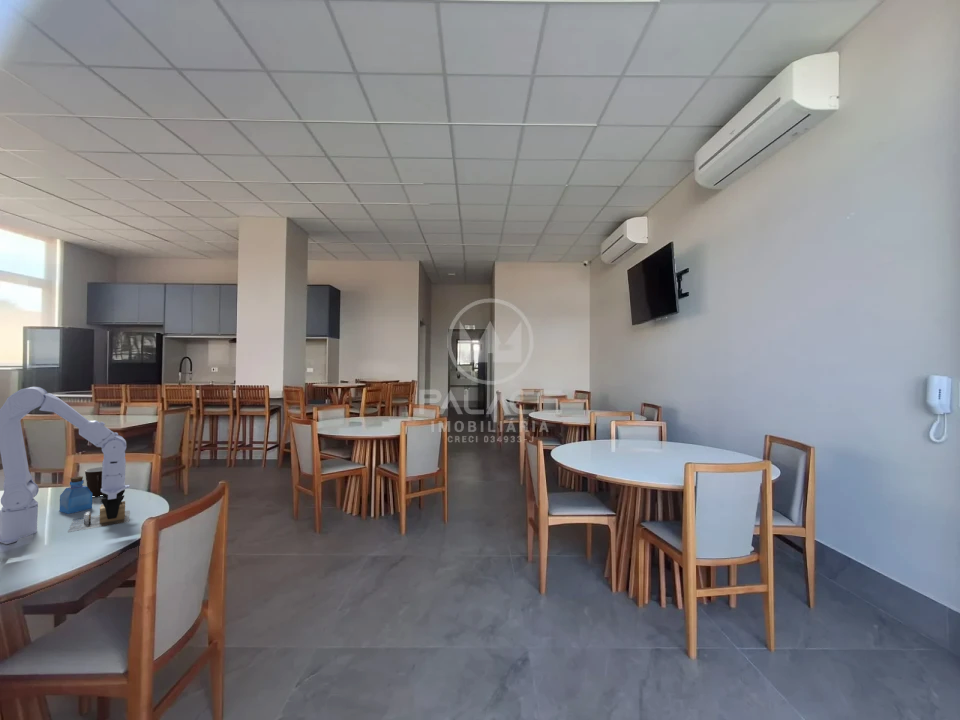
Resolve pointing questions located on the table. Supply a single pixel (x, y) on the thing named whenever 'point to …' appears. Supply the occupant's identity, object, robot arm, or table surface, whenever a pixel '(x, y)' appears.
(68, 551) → the table surface
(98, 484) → the coffee mug
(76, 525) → the hub plate
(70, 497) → the perfume bottle
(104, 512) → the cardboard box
